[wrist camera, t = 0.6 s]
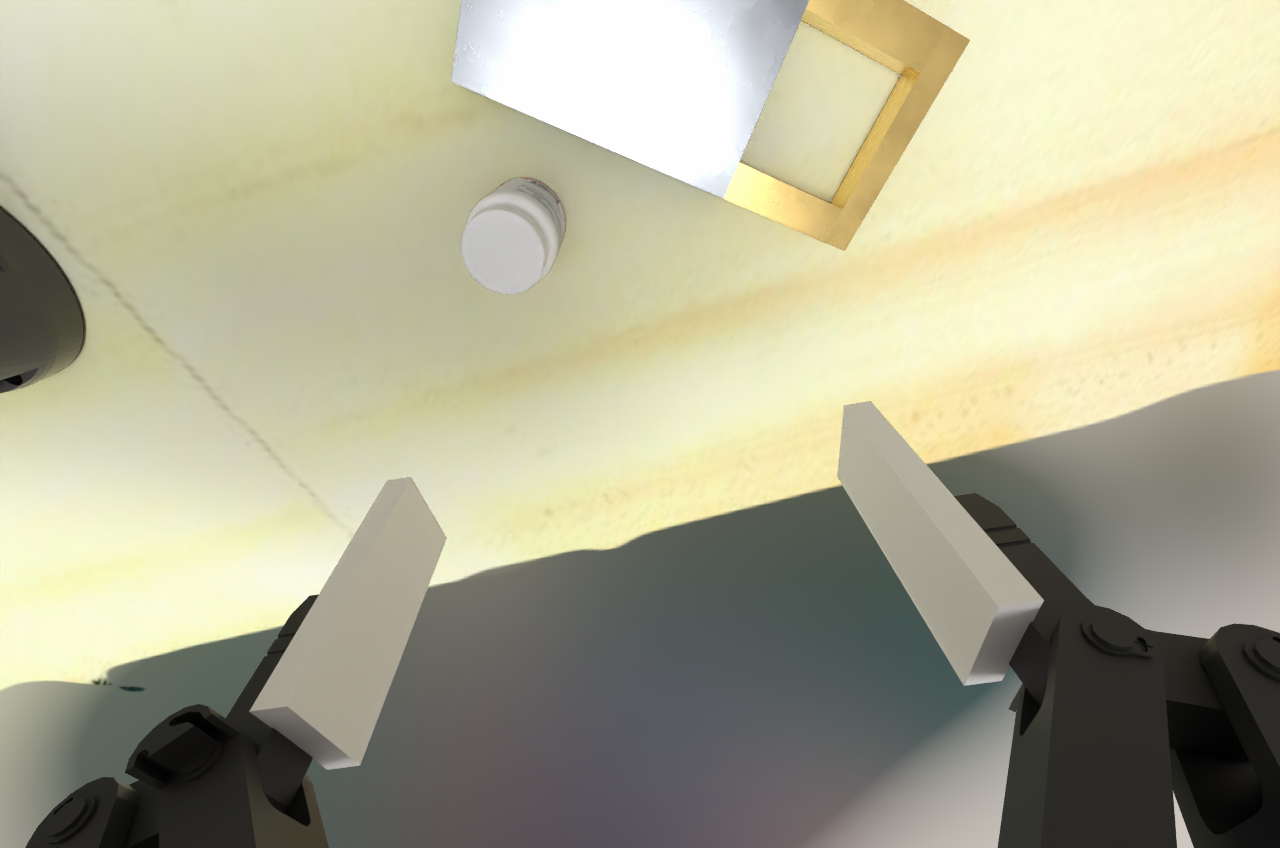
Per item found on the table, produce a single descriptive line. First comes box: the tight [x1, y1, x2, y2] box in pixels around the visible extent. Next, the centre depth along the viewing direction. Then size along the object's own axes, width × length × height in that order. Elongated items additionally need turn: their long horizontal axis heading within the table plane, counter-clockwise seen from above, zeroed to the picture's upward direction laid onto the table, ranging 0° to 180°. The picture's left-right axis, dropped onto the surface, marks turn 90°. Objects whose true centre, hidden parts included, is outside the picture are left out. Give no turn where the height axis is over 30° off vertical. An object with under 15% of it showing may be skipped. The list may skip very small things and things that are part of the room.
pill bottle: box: [461, 178, 566, 294], centre depth 26 cm, size 5×5×8 cm
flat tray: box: [451, 0, 970, 251], centre depth 25 cm, size 24×11×2 cm, turn 69°
